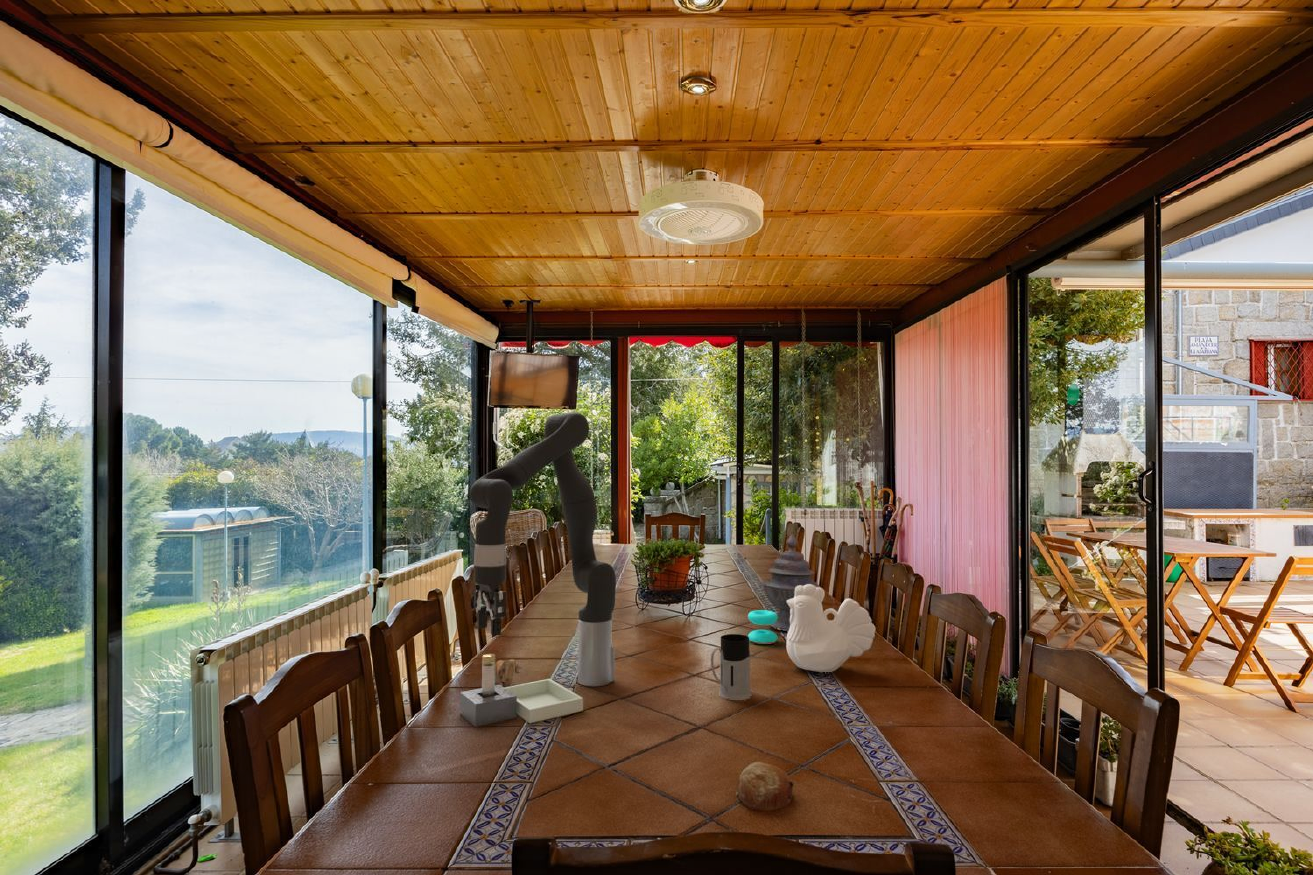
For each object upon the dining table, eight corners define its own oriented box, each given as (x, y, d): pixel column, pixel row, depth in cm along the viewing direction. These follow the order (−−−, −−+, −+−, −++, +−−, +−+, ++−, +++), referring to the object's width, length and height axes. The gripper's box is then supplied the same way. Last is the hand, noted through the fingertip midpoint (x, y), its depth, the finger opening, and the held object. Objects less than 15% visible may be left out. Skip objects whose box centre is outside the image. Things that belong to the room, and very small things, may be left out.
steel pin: (491, 712, 167) (492, 653, 168) (496, 715, 165) (497, 656, 165) (479, 714, 165) (480, 655, 166) (484, 718, 163) (485, 658, 163)
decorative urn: (760, 632, 246) (765, 532, 249) (761, 622, 266) (765, 530, 269) (819, 637, 243) (823, 536, 246) (815, 628, 262) (819, 534, 266)
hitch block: (499, 708, 172) (499, 684, 172) (516, 721, 164) (516, 695, 164) (460, 717, 166) (460, 692, 166) (475, 731, 158) (475, 704, 158)
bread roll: (741, 805, 132) (724, 767, 132) (789, 779, 133) (772, 742, 133) (753, 833, 122) (734, 791, 122) (805, 805, 123) (786, 764, 123)
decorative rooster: (780, 673, 201) (780, 587, 202) (793, 659, 216) (793, 578, 217) (870, 685, 191) (869, 594, 192) (877, 669, 205) (877, 585, 206)
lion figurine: (523, 694, 183) (523, 659, 183) (504, 698, 180) (504, 663, 180) (501, 679, 195) (502, 647, 195) (483, 682, 192) (483, 650, 192)
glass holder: (758, 694, 183) (758, 637, 184) (725, 709, 173) (725, 647, 173) (731, 687, 189) (731, 631, 190) (698, 700, 179) (698, 641, 179)
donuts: (779, 610, 240) (775, 616, 230) (779, 639, 239) (775, 647, 230) (750, 608, 243) (745, 614, 233) (750, 637, 242) (745, 644, 233)
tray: (549, 693, 183) (549, 678, 183) (582, 714, 168) (583, 697, 169) (498, 704, 175) (498, 688, 175) (529, 727, 160) (529, 709, 160)
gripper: (517, 565, 163) (516, 635, 162) (493, 558, 174) (492, 623, 174) (486, 568, 158) (485, 640, 158) (464, 560, 170) (463, 627, 169)
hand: (488, 631), depth 166 cm, fingers open, 8 cm apart
